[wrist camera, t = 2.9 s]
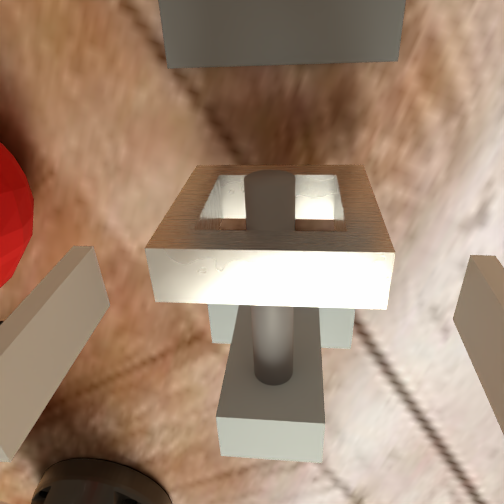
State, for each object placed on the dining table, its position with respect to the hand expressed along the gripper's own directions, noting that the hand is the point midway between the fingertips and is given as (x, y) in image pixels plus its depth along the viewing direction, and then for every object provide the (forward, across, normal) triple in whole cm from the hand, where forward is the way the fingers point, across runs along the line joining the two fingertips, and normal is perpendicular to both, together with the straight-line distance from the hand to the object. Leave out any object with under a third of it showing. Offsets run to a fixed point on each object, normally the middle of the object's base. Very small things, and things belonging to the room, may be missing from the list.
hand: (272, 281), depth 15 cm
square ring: (+10, 0, 0) cm, 10 cm away
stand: (+12, 0, -5) cm, 13 cm away
